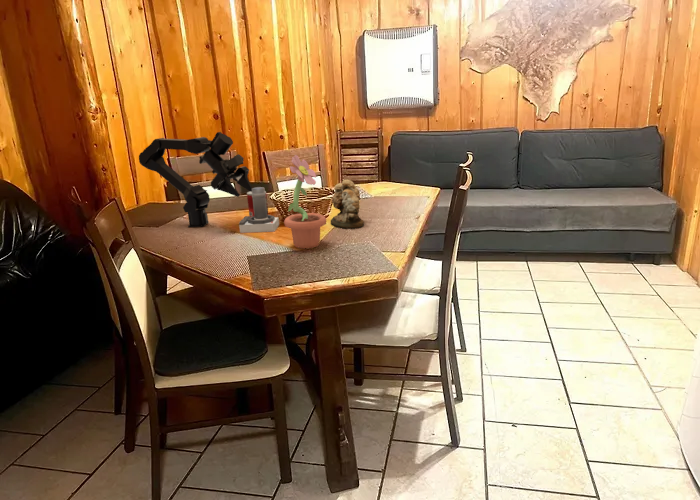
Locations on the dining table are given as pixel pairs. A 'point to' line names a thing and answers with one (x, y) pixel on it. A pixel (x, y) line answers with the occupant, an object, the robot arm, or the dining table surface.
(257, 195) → the gray tumbler
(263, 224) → the square flange plate
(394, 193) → the dining table surface
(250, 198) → the canned food
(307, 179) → the decorative flower
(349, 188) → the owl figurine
